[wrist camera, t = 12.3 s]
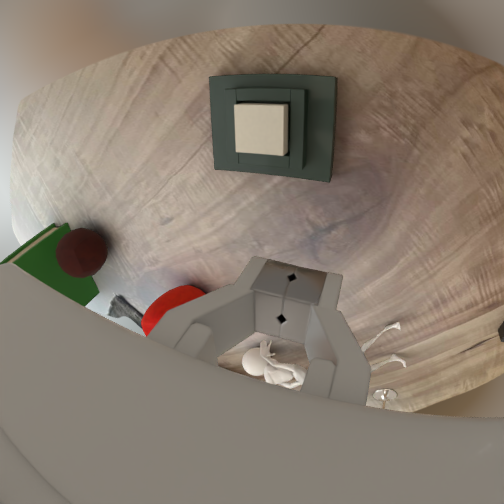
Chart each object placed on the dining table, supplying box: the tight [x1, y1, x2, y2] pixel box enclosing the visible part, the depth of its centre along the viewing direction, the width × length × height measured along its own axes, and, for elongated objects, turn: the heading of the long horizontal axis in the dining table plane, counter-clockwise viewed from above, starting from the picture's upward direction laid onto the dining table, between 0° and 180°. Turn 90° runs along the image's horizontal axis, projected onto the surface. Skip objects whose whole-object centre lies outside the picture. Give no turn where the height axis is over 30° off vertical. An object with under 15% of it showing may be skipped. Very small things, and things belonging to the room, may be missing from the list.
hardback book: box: [0, 223, 99, 307], centre depth 46 cm, size 18×7×24 cm, turn 10°
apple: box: [141, 285, 206, 337], centre depth 40 cm, size 9×9×11 cm
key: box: [234, 103, 288, 156], centre depth 23 cm, size 4×4×2 cm
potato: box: [56, 228, 107, 278], centre depth 44 cm, size 9×12×9 cm
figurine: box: [242, 322, 406, 389], centre depth 39 cm, size 9×10×25 cm
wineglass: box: [373, 389, 397, 409], centre depth 38 cm, size 6×6×12 cm
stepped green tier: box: [209, 74, 337, 182], centre depth 25 cm, size 10×12×4 cm
